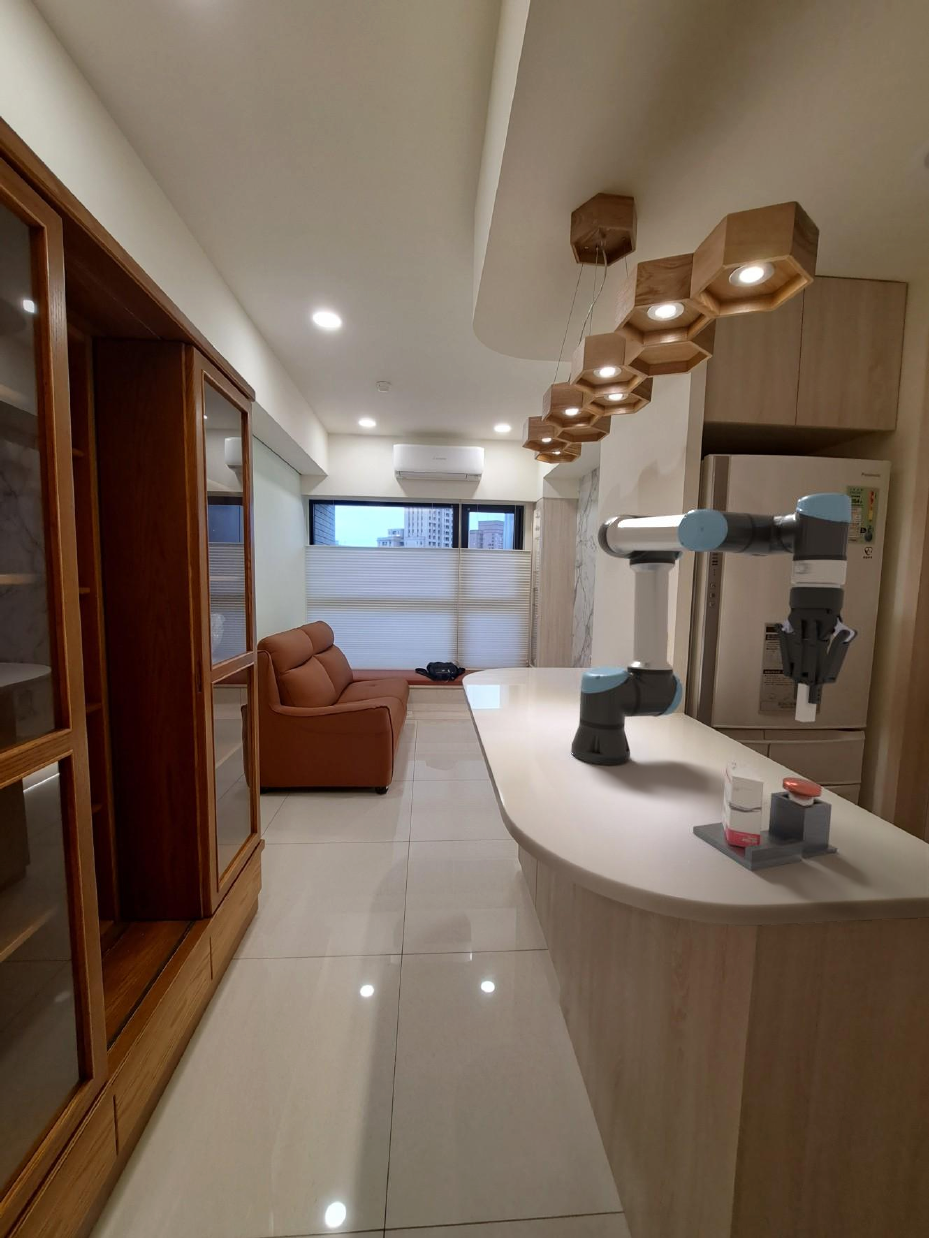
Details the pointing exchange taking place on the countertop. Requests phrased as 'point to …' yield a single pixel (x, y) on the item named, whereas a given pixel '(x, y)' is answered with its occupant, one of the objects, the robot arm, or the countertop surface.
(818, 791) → the plunger
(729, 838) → the ink box
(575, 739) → the robot arm
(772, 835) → the housing
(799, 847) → the tray
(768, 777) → the countertop surface
